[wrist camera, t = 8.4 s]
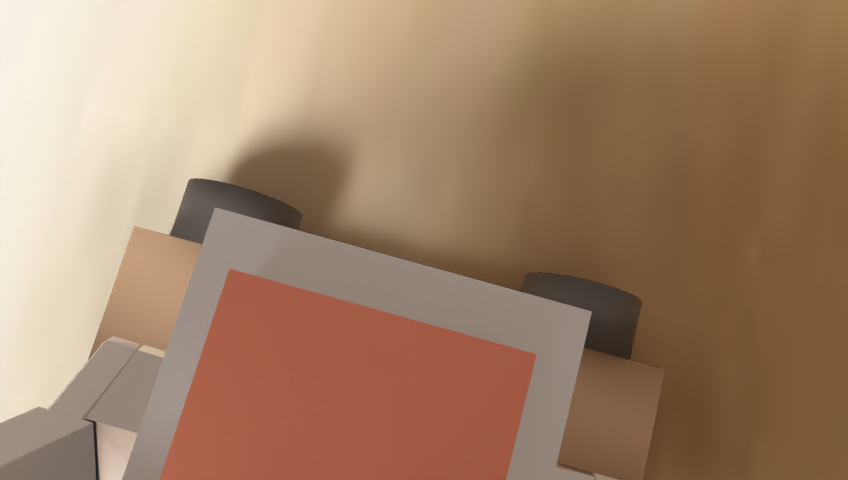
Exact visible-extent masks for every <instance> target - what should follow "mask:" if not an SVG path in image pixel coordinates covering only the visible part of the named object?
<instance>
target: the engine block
mask: <svg viewBox="0 0 848 480" xmlns="http://www.w3.org/2000/svg"><path fill="white" fill-rule="evenodd" d="M591 314H592V311H588V310H585V309H581V308H577V307H574V306H570V305H567V304H563V303H559V302H556V301H552V300H549V299H545V298H541V297H538V296H534V295H530V294H527V293H523V292H520V291H516V290H512V289H509V288H505V287H502V286H498V285H494V284H491V283H487V282H483V281H480V280H476V279H473V278H469V277H465V276H462V275H458V274H455V273H451V272H447V271H444V270H440V269H436V268H433V267H429V266H426V265H422V264H418V263H415V262H411V261H408V260H404V259H400V258H397V257H393V256H389V255H386V254H382V253H379V252H375V251H371V250H368V249H364V248H361V247H357V246H353V245H350V244H346V243H342V242H339V241H335V240H332V239H328V238H324V237H321V236H317V235H314V234H310V233H306V232H303V231H299V230H295V229H292V228H288V227H285V226H281V225H277V224H274V223H270V222H266V221H263V220H259V219H256V218H252V217H248V216H245V215H241V214H238V213H234V212H230V211H227V210H223V209H219V208H216V207H215V209H214V212H213V215H212V218H211V220H210V223H209V226H208V229H207V232H206V235H205V238H204V241H203V244H202V247H201V250H200V253H199V256H198V258H197V261H196V264H195V267H194V270H193V273H192V276H191V279H190V282H189V285H188V288H187V291H186V294H185V297H184V299H183V302H182V305H181V308H180V311H179V314H178V317H177V320H176V323H175V326H174V329H173V332H172V335H171V337H170V340H169V343H168V346H167V349H166V352H165V355H164V358H163V361H162V364H161V367H160V370H159V373H158V375H157V378H156V381H155V384H154V387H153V390H152V393H151V396H150V399H149V402H148V405H147V408H146V411H145V414H144V416H143V419H142V422H141V425H140V428H139V431H138V434H137V437H136V440H135V443H134V446H133V449H132V452H131V454H130V457H129V460H128V463H127V466H126V469H125V472H124V475H123V478H122V480H553V477H554V473H555V469H556V464H557V460H558V456H559V451H560V447H561V443H562V439H563V434H564V430H565V426H566V421H567V417H568V413H569V408H570V404H571V400H572V395H573V391H574V387H575V383H576V378H577V374H578V370H579V365H580V361H581V357H582V352H583V348H584V344H585V339H586V335H587V331H588V326H589V322H590V318H591Z"/></svg>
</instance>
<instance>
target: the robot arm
mask: <svg viewBox="0 0 848 480" xmlns="http://www.w3.org/2000/svg"><path fill="white" fill-rule="evenodd" d="M165 352H166V351H163V350H159V349H156V348H153V347H150V346H147V345H142V344H139V343H135V342H132V341H129V340H126V339H122V338H119V337H116V336H112V337H111V338H109V339H107V340H106V341H104V342H103V343H102V344H101V346H100V347H99V348H98V349H97V350H96V352H95V353H94V354H93V355H92V356H91V358H90V359H89V360H88V361H87V363H86V364H85V365H84V366H83V367H82V369H81V370H80V371H79V372H78V373H77V375H76V376H75V377H74V378H73V379H72V381H71V382H70V383H69V384H68V386H67V387H66V388H65V389H64V390H63V392H62V393H61V394H60V395H59V396H58V398H57V399H56V400H55V401H54V402H53V404H52V405H51V406H50V407H49V408H48V409H45V408H41V407H37V408H34V409H32V410H30V411H27V412H25V413H23V414H20V415H18V416H16V417H13V418H11V419H9V420H6V421H4V422H2V423H0V480H122V478H123V475H124V472H125V469H126V466H127V463H128V460H129V457H130V454H131V452H132V449H133V446H134V443H135V440H136V437H137V434H138V431H139V428H140V425H141V422H142V419H143V416H144V414H145V411H146V408H147V405H148V402H149V399H150V396H151V393H152V390H153V387H154V384H155V381H156V378H157V375H158V373H159V370H160V367H161V364H162V361H163V358H164V355H165ZM553 480H618V479H614V478H611V477H607V476H603V475H600V474H596V473H591V472H590V471H586V470H583V469H579V468H575V467H572V466H568V465H564V464H560V463H557V464H556V469H555V473H554V477H553Z"/></svg>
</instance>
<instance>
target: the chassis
mask: <svg viewBox="0 0 848 480" xmlns="http://www.w3.org/2000/svg"><path fill="white" fill-rule="evenodd" d="M215 207H216V208H219V209H223V210H227V211H230V212H234V213H238V214H241V215H245V216H248V217H252V218H256V219H259V220H263V221H266V222H270V223H274V224H277V225H281V226H285V227H288V228H292V229H295V230H298V228H299V225H300V222H301V218H302V214H301V213H300V212H299V211H297V210H296V209H294V208H293V207H291V206H289V205H287V204H285V203H283V202H281V201H278V200H276V199H273V198H271V197H268V196H266V195H263V194H260V193H257V192H254V191H251V190H248V189H245V188H242V187H238V186H235V185H231V184H227V183H223V182H218V181H213V180H207V179H190V180H189V181H188V184H187V187H186V190H185V193H184V196H183V199H182V202H181V205H180V208H179V211H178V214H177V217H176V220H175V223H174V226H173V229H172V232H171V235H170V236H169V235H165V234H162V233H158V232H154V231H151V230H147V229H143V228H140V227H136V226H134V229H133V232H132V234H131V237H130V240H129V243H128V246H127V249H126V252H125V255H124V258H123V260H122V263H121V266H120V269H119V272H118V275H117V278H116V281H115V284H114V286H113V289H112V292H111V295H110V298H109V301H108V304H107V307H106V310H105V313H104V315H103V318H102V321H101V324H100V327H99V330H98V333H97V336H96V339H95V341H94V344H93V347H92V350H91V353H90V356H89V359H90V358H91V356H92V355H93V354H94V353H95V352H96V350H97V349H98V348H99V347H100V346H101V344H102V343H103V342H104V341H106V340H107V339H109V338H111V337H112V336H116V337H119V338H122V339H126V340H129V341H132V342H135V343H139V344H142V345H147V346H150V347H153V348H156V349H159V350H163V351H166V349H167V346H168V343H169V340H170V337H171V335H172V332H173V329H174V326H175V323H176V320H177V317H178V314H179V311H180V308H181V305H182V302H183V299H184V297H185V294H186V291H187V288H188V285H189V282H190V279H191V276H192V273H193V270H194V267H195V264H196V261H197V258H198V256H199V253H200V250H201V247H202V244H203V241H204V238H205V235H206V232H207V229H208V226H209V223H210V220H211V218H212V215H213V212H214V209H215ZM521 292H523V293H527V294H530V295H534V296H538V297H541V298H545V299H549V300H552V301H556V302H559V303H563V304H567V305H570V306H574V307H577V308H581V309H585V310H588V311H592V314H591V318H590V322H589V326H588V331H587V335H586V339H585V344H584V348H583V352H582V357H581V361H580V365H579V370H578V374H577V378H576V383H575V387H574V391H573V395H572V400H571V404H570V408H569V413H568V417H567V421H566V426H565V430H564V434H563V439H562V443H561V447H560V451H559V456H558V460H557V463H560V464H564V465H568V466H572V467H575V468H579V469H583V470H586V471H590V472H591V473H596V474H600V475H603V476H607V477H611V478H614V479H618V480H643V477H644V472H645V467H646V462H647V457H648V452H649V447H650V443H651V438H652V433H653V428H654V423H655V418H656V413H657V409H658V404H659V399H660V394H661V389H662V384H663V379H664V375H665V369H662V368H658V367H654V366H651V365H647V364H643V363H640V362H636V361H632V360H630V355H631V350H632V346H633V341H634V336H635V332H636V327H637V323H638V318H639V313H640V309H641V304H642V301H641V300H640V299H639V298H637V297H635V296H634V295H632V294H629V293H627V292H625V291H622V290H619V289H617V288H614V287H611V286H607V285H604V284H600V283H597V282H593V281H589V280H585V279H580V278H576V277H571V276H565V275H559V274H551V273H528V274H526V275H525V278H524V282H523V286H522V290H521ZM89 359H88V360H89Z"/></svg>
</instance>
